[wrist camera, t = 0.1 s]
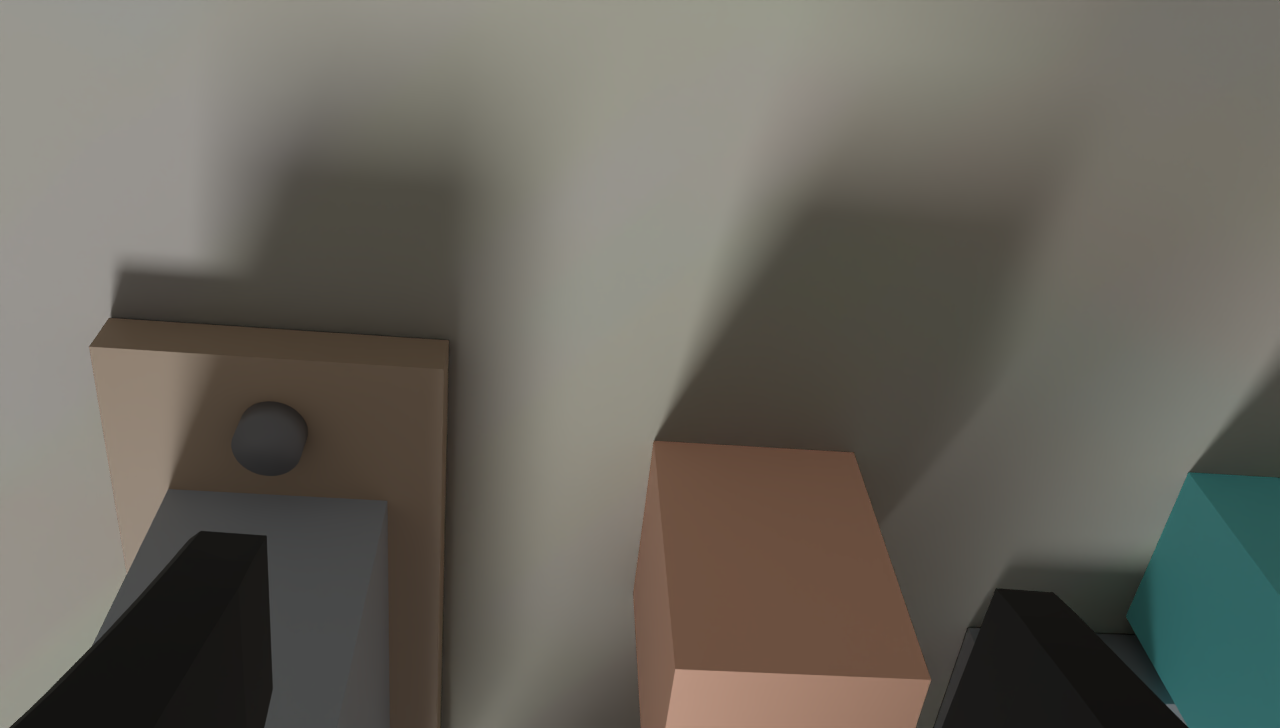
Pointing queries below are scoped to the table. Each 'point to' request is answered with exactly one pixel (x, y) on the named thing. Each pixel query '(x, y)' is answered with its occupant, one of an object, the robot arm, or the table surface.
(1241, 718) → the teal block
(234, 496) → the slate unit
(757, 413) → the table surface
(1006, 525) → the table surface
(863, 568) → the terracotta block
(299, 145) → the table surface
